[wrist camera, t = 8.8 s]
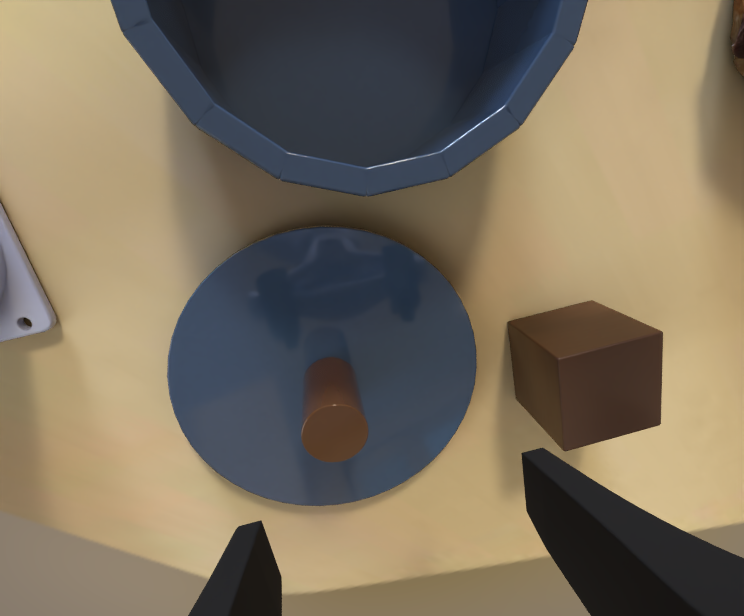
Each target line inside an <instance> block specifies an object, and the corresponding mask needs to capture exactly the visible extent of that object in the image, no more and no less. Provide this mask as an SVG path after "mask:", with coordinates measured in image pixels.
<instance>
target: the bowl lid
mask: <svg viewBox="0 0 744 616" xmlns="http://www.w3.org/2000/svg"><path fill="white" fill-rule="evenodd" d="M476 368H477V366H476V345H475V339H474V333H473V329H472V326H471V323H470V320H469V316H468V314H467V312H466V310H465V308H464V306H463V303H462V301H461V299H460V298H459V296H458V295H457V293H456V292H455V290H454V289H453V287H452V286H451V284H450V283H449V282H448V281H447V279H446V278H445V277H444V276H443V275H442V274H441V273H440V272H439V271H438V269H437V268H435V267H434V266H433V265H432V264H431V263H429V262H428V261H427V260H426V259H425V258H423V257H422V256H421V255H420V254H418V253H416V252H415V251H413V250H412V249H410V248H408V247H407V246H405V245H404V244H402V243H400V242H398V241H395V240H393V239H391V238H389V237H386V236H384V235H381V234H378V233H374V232H371V231H368V230H364V229H359V228H352V227H346V226H323V225H319V226H310V227H301V228H295V229H291V230H287V231H283V232H279V233H275V234H273V235H270V236H268V237H265V238H263V239H260V240H258V241H255V242H253V243H251V244H250V245H248V246H246V247H244V248H243V249H241V250H239V251H237V252H236V253H234V254H233V255H232V256H230V257H229V258H228V259H226V260H225V261H224V262H222V263H221V264H220V265H218V266H217V267H216V268H215V269H214V270H213V271H212V272H211V273H210V274H209V275H208V276H207V277H206V278H205V279H204V280H203V281H202V282H201V284H200V285H199V286H198V288H197V289H196V290H195V292H194V293H193V294H192V296H191V297H190V298H189V300H188V302H187V303H186V305H185V307H184V309H183V311H182V313H181V315H180V317H179V318H178V321H177V324H176V327H175V330H174V333H173V335H172V339H171V344H170V349H169V354H168V372H167V378H168V386H169V394H170V399H171V402H172V406H173V409H174V413H175V416H176V418H177V420H178V422H179V425H180V427H181V429H182V431H183V433H184V434H185V436H186V438H187V439H188V441H189V442H190V444H191V445H192V447H193V448H194V449H195V450H196V452H197V453H198V454H199V455H200V456H201V458H202V459H203V460H204V461H205V462H206V463H207V464H208V465H209V466H211V467H212V468H213V469H214V470H215V471H216V472H217V473H219V474H220V475H221V476H223V477H224V478H226V479H227V480H229V481H230V482H232V483H233V484H235V485H237V486H239V487H241V488H243V489H245V490H246V491H248V492H251V493H253V494H256V495H259V496H261V497H264V498H267V499H271V500H275V501H278V502H282V503H288V504H295V505H305V506H326V505H339V504H344V503H350V502H355V501H359V500H362V499H366V498H369V497H373V496H375V495H378V494H380V493H383V492H385V491H388V490H390V489H392V488H394V487H395V486H397V485H399V484H401V483H403V482H405V481H406V480H408V479H409V478H411V477H412V476H414V475H415V474H417V473H418V472H419V471H421V470H422V469H423V468H424V467H425V466H427V465H428V464H429V463H430V462H431V461H432V460H433V459H434V458H435V457H436V456H437V455H438V454H439V453H440V452H441V451H442V450H443V449H444V448H445V446H446V445H447V444H448V442H449V441H450V439H451V438H452V437H453V435H454V434H455V432H456V431H457V429H458V427H459V425H460V423H461V422H462V420H463V418H464V416H465V413H466V411H467V408H468V406H469V403H470V400H471V396H472V393H473V389H474V385H475V376H476Z"/></svg>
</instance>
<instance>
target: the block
mask: <svg viewBox="0 0 744 616" xmlns="http://www.w3.org/2000/svg"><path fill="white" fill-rule="evenodd" d="M508 330H509V339H510V348H511V358H512V367H513V376H514V386H515V395H516V399H517V401H518V402H519V403H520V404H521V405H522V406H523V407H524V408H525V409H526V410H527V411H528V413H529V414H530V415H531V416H532V417H533V418H534V419H535V420H536V421H537V422H538V423H539V424H540V426H541V427H542V428H543V429H544V430H545V431H546V432H547V433H548V434H549V435H550V436H551V438H552V439H553V440H554V441H555V442H556V443H557V444H558V445H559V446H560V447H561V448H562V450H563V451H568V450H572V449H576V448H579V447H583V446H586V445H590V444H594V443H597V442H601V441H604V440H608V439H612V438H615V437H619V436H622V435H626V434H630V433H633V432H637V431H640V430H644V429H648V428H651V427H655V426H658V425H660V424H661V393H662V352H663V332H662V331H660V330H658V329H655V328H653V327H651V326H649V325H646V324H644V323H642V322H640V321H637V320H635V319H633V318H631V317H628V316H626V315H624V314H622V313H619V312H617V311H615V310H613V309H610V308H608V307H606V306H604V305H601V304H599V303H597V302H595V301H592V300H591V301H587V302H583V303H579V304H575V305H571V306H568V307H564V308H560V309H556V310H552V311H548V312H544V313H540V314H536V315H532V316H528V317H524V318H520V319H516V320H512V321H509V322H508Z"/></svg>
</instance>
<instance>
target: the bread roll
mask: <svg viewBox="0 0 744 616" xmlns="http://www.w3.org/2000/svg"><path fill="white" fill-rule="evenodd" d="M730 39H731V41H732V43H733V45H732V52H733V55H735V58H734V61H733V62H734V64H735V66H736V69H737V70H738V71H739V72H740V74H741V75H742V76H743V77H744V0H734V7H733V24H732V30H731V36H730Z"/></svg>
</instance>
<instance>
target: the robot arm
mask: <svg viewBox="0 0 744 616" xmlns="http://www.w3.org/2000/svg"><path fill="white" fill-rule="evenodd" d="M23 318H27V319H29V320H30V321H31V322H32V327H30V326H28V325H26V324H25V323H24V320H23ZM56 320H57V319H56V315H55V313H54V311H53V309H52V307H51V305H50V303H49V301H48V299H47V297H46V295H45V293H44V290H43V288H42V286H41V284H40V282H39V280H38V278H37V276H36V274H35V272H34V270H33V268H32V266H31V264H30V262H29V260H28V258H27V256H26V254H25V252H24V250H23V248H22V246H21V244H20V241H19V239H18V237H17V235H16V233H15V231H14V229H13V227H12V225H11V223H10V221H9V219H8V217H7V215H6V213H5V211H4V209H3V207H2V205H1V203H0V342H3V341H7V340H11V339H15V338H20V337H24V336H28V335H32V334H37V333H41V332H45V331H47V330H49V329H51V328H52V327H53V326H54V325H55V324H56ZM522 463H523V475H524V486H525V498H526V509H527V513H528V515H529V517H530V519H531V520H532V522H533V524H534V526H535V528H536V530H537V532H538V534H539V536H540V538H541V540H542V542H543V543H544V545H545V547H546V549H547V550H548V552H549V553H550V555H551V557H552V558H553V559H554V561H555V563H556V564H557V566H558V567H559V569H560V570H561V571H562V573H563V575H564V576H565V578H566V579H567V581H568V582H569V584H570V585H571V587H572V588H573V589H574V591H575V593H576V594H577V596H578V597H579V598H580V600H581V602H582V603H583V605H584V606H585V607H586V609H587V610H588V612H589V613H590V615H591V616H744V558H742V557H739V556H737V555H735V554H732V553H730V552H728V551H725V550H723V549H721V548H719V547H716V546H714V545H712V544H710V543H708V542H706V541H704V540H701V539H699V538H697V537H695V536H693V535H691V534H689V533H687V532H685V531H683V530H681V529H679V528H677V527H675V526H673V525H671V524H669V523H667V522H665V521H663V520H661V519H659V518H657V517H656V516H654V515H652V514H650V513H648V512H646V511H645V510H643V509H641V508H639V507H637V506H635V505H634V504H632V503H630V502H628V501H627V500H625V499H623V498H622V497H620V496H618V495H617V494H615V493H613V492H612V491H610V490H608V489H607V488H605V487H603V486H602V485H600V484H598V483H597V482H595V481H594V480H592V479H590V478H589V477H587V476H586V475H584V474H583V473H581V472H580V471H578V470H576V469H575V468H573V467H572V466H570V465H569V464H567V463H566V462H564V461H563V460H561V459H559V458H558V457H556V456H555V455H553V454H552V453H550V452H549V451H547V450H545V449H544V448H540V449H536V450H532V451H528V452H524V453H522ZM281 613H282V581H281V574H280V572H279V569H278V566H277V563H276V560H275V558H274V555H273V552H272V549H271V546H270V543H269V541H268V538H267V535H266V532H265V529H264V527H263V524H262V521H257V522H254V523H250V524H246V525H242V526H238V528H237V529H236V531H235V532H234V534H233V536H232V538H231V540H230V542H229V544H228V545H227V547H226V549H225V551H224V553H223V555H222V557H221V559H220V560H219V562H218V564H217V566H216V568H215V570H214V571H213V573H212V575H211V577H210V579H209V581H208V582H207V584H206V586H205V588H204V589H203V591H202V593H201V594H200V596H199V598H198V600H197V602H196V603H195V605H194V607H193V608H192V610H191V612H190V614H189V615H188V616H282V614H281Z"/></svg>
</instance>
